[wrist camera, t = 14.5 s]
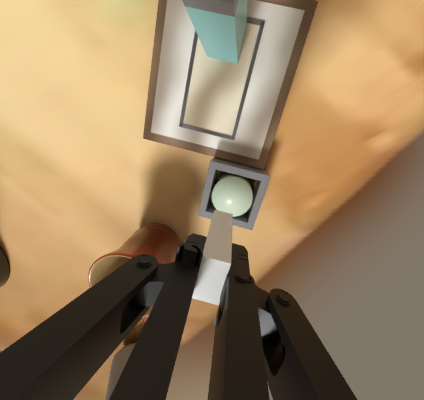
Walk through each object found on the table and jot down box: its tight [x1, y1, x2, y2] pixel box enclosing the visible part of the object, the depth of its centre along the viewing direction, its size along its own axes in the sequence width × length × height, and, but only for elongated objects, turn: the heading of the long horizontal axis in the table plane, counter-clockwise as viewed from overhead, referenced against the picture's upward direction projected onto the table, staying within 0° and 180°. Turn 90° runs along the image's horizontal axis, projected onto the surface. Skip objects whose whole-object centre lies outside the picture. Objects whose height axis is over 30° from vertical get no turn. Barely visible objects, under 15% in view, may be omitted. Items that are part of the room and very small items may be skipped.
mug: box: [88, 224, 180, 322], centre depth 28 cm, size 12×9×10 cm
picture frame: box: [143, 0, 318, 169], centre depth 24 cm, size 16×17×1 cm
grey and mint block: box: [182, 0, 248, 64], centre depth 17 cm, size 3×3×11 cm
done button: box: [212, 173, 253, 217], centre depth 26 cm, size 5×5×4 cm
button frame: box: [198, 157, 270, 230], centre depth 26 cm, size 7×7×4 cm
